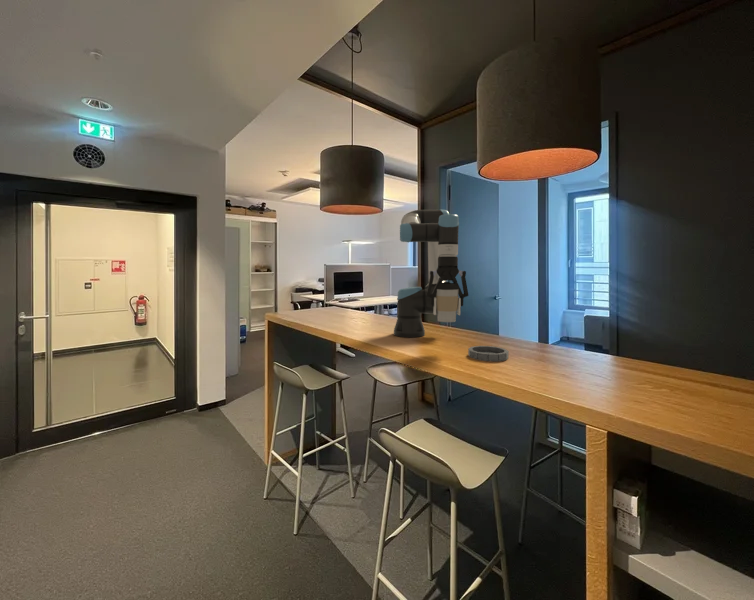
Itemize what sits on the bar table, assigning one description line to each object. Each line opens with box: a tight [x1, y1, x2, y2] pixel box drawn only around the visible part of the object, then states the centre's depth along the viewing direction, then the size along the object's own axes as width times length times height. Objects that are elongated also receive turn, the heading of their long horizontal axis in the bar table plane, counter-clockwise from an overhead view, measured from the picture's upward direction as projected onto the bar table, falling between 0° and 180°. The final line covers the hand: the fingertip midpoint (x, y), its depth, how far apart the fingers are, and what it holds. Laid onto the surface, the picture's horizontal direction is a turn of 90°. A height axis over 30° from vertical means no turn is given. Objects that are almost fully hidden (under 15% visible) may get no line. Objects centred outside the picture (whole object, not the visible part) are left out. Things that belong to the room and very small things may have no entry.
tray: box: [467, 345, 509, 362], centre depth 128 cm, size 14×14×2 cm
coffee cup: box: [436, 281, 460, 323], centre depth 135 cm, size 9×9×15 cm
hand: (446, 314), depth 136 cm, fingers closed on coffee cup, 8 cm apart
